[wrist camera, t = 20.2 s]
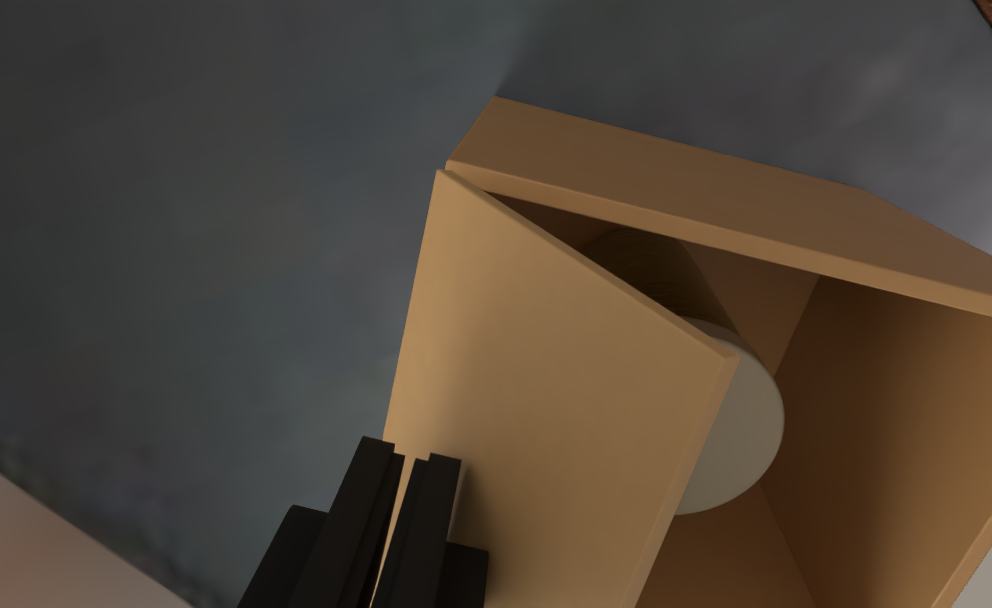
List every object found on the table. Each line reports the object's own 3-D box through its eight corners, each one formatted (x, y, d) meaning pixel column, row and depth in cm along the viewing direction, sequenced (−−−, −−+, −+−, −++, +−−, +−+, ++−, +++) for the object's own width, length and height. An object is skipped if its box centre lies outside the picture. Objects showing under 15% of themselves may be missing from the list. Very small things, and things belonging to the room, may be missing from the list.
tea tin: (582, 207, 23) (603, 310, 15) (723, 243, 23) (821, 364, 15) (545, 336, 25) (545, 490, 17) (675, 367, 25) (739, 536, 17)
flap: (356, 622, 16) (343, 627, 15) (452, 169, 11) (436, 167, 11) (499, 926, 11) (484, 937, 11) (744, 356, 7) (724, 358, 7)
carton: (430, 375, 27) (354, 605, 16) (493, 95, 22) (446, 158, 12) (745, 451, 27) (872, 724, 16) (864, 189, 23) (1138, 331, 12)
